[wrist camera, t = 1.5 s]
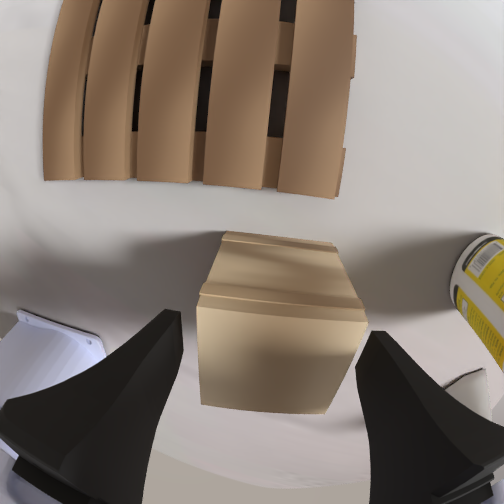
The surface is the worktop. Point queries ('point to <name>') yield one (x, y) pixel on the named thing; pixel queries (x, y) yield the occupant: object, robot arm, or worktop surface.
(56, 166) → the pallet
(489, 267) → the supplement bottle
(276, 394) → the cardboard box
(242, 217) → the worktop surface
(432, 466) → the robot arm
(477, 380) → the flask
